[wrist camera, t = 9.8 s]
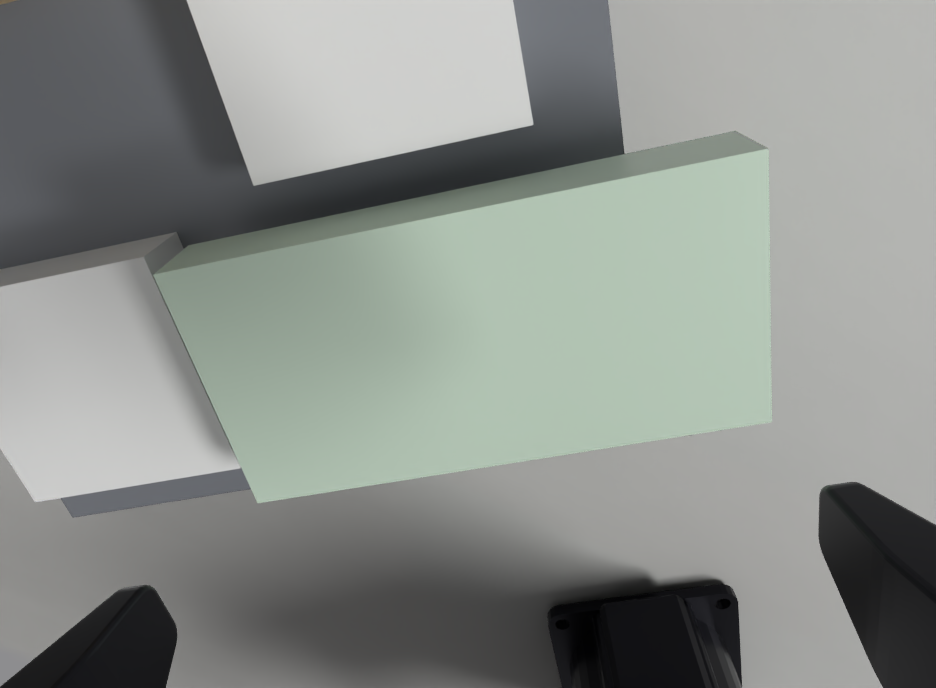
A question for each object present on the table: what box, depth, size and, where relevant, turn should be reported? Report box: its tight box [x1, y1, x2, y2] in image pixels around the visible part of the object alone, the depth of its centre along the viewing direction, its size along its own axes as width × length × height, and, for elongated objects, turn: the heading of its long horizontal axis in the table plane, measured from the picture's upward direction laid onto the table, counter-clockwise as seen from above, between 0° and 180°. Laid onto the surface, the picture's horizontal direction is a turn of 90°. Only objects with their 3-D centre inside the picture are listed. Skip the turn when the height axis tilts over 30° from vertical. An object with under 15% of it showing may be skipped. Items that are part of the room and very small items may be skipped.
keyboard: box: [0, 0, 624, 517], centre depth 15 cm, size 21×18×3 cm
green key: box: [153, 131, 772, 503], centre depth 15 cm, size 6×12×3 cm, turn 102°
